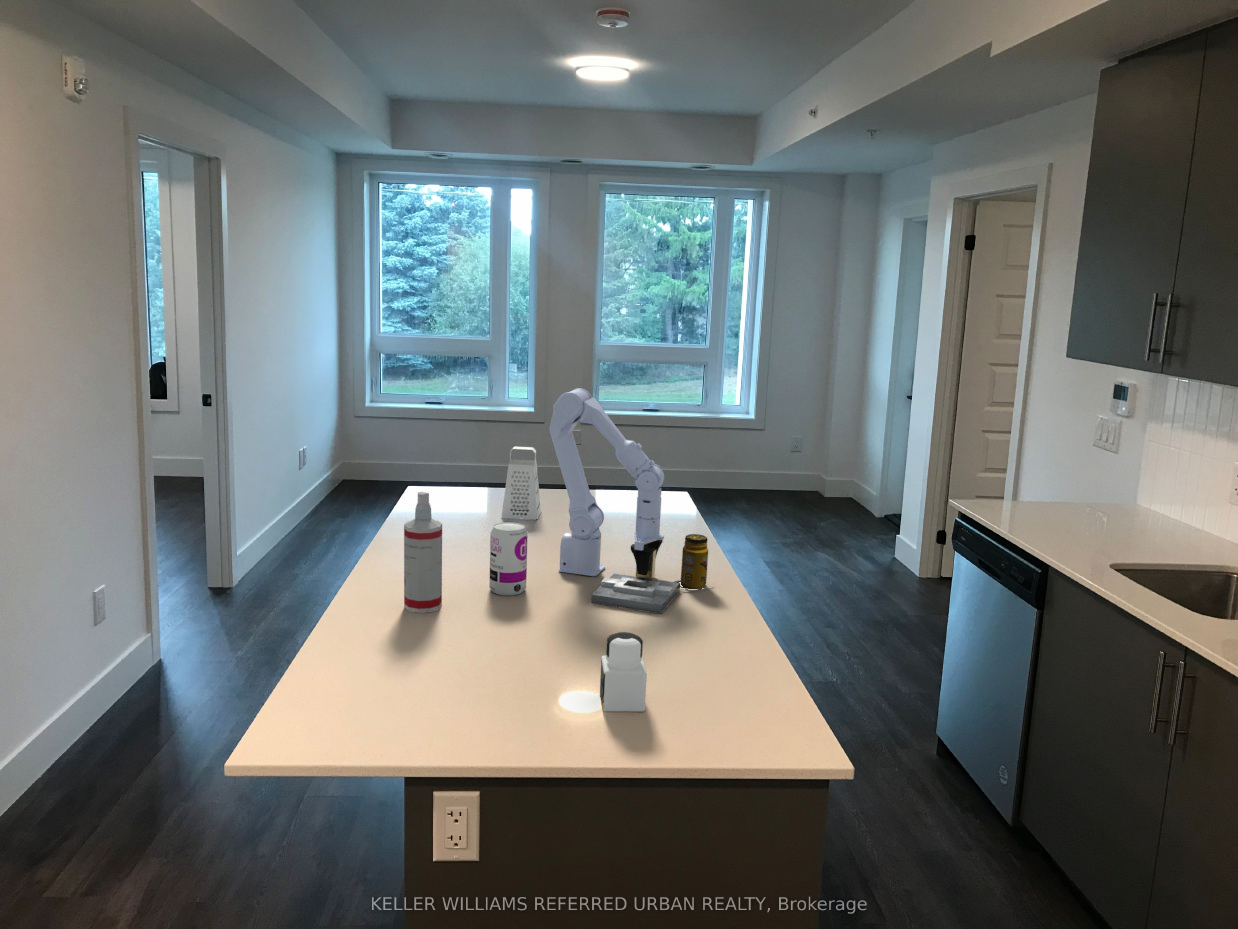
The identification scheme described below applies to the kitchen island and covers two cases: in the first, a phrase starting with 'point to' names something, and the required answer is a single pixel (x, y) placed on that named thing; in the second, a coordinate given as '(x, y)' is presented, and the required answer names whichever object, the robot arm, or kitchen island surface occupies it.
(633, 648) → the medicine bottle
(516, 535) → the supplement can
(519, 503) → the grater
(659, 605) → the grey square plate
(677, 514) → the kitchen island surface
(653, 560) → the wooden rectangular block
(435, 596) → the spray bottle
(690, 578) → the condiment
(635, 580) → the bracket
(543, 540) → the kitchen island surface
